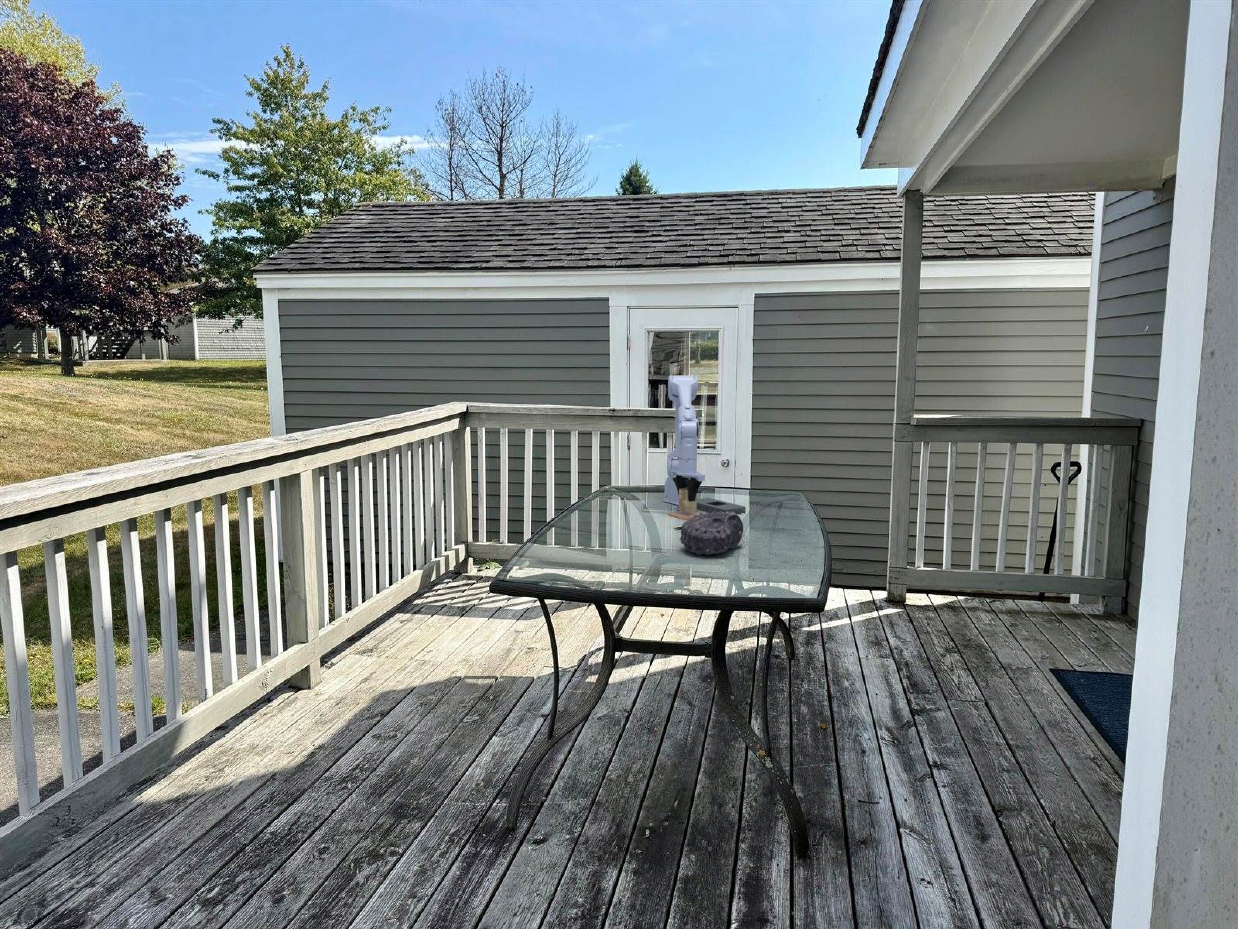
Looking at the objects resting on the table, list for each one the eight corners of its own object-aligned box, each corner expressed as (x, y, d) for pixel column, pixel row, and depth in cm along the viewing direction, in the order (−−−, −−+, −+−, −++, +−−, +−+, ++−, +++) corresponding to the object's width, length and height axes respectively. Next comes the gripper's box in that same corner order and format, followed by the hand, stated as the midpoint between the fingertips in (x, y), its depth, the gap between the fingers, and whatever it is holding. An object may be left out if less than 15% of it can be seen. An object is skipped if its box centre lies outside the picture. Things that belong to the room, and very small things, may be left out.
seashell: (745, 550, 240) (707, 517, 246) (760, 519, 231) (720, 486, 237) (701, 581, 227) (662, 545, 234) (715, 550, 219) (674, 514, 225)
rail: (688, 507, 288) (688, 500, 288) (708, 504, 294) (708, 497, 293) (725, 516, 274) (725, 510, 274) (745, 513, 279) (745, 506, 279)
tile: (667, 515, 276) (667, 513, 276) (688, 511, 281) (688, 509, 281) (685, 520, 269) (685, 518, 269) (706, 516, 274) (706, 514, 274)
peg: (678, 510, 275) (679, 488, 274) (688, 508, 278) (688, 487, 276) (686, 512, 272) (687, 490, 271) (696, 510, 274) (696, 489, 273)
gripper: (663, 456, 275) (663, 497, 277) (693, 462, 264) (692, 505, 266) (680, 454, 279) (679, 495, 282) (710, 460, 268) (709, 502, 270)
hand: (687, 500), depth 274 cm, fingers closed on peg, 4 cm apart
